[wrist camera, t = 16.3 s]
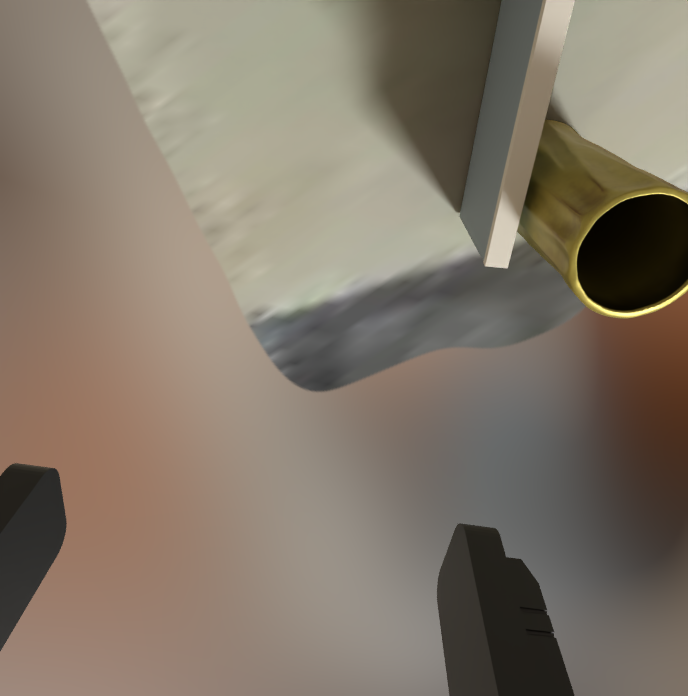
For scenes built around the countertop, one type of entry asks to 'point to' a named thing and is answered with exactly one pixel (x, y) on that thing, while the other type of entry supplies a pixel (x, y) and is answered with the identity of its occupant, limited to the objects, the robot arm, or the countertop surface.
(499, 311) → the countertop surface
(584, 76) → the countertop surface
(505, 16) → the grey flat panel
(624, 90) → the countertop surface
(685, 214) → the vase
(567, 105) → the countertop surface
